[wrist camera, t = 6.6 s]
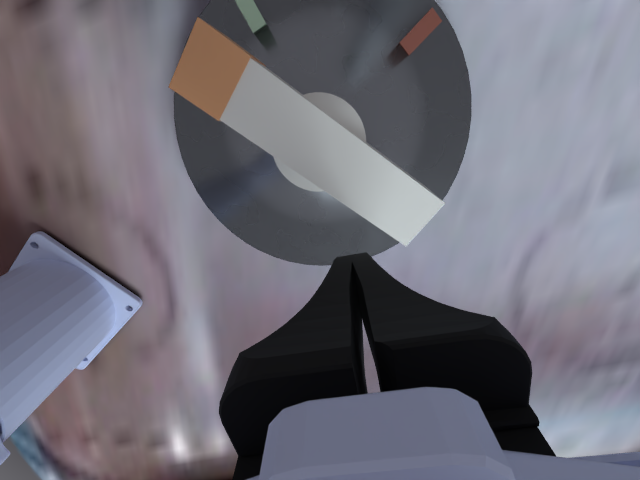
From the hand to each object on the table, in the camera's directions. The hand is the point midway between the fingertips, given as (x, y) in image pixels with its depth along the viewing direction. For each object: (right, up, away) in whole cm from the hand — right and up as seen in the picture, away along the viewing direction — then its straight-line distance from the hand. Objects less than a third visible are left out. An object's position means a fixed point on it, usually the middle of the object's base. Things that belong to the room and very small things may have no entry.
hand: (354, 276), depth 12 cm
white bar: (-1, +7, +3) cm, 8 cm away
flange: (-1, +7, +5) cm, 9 cm away
